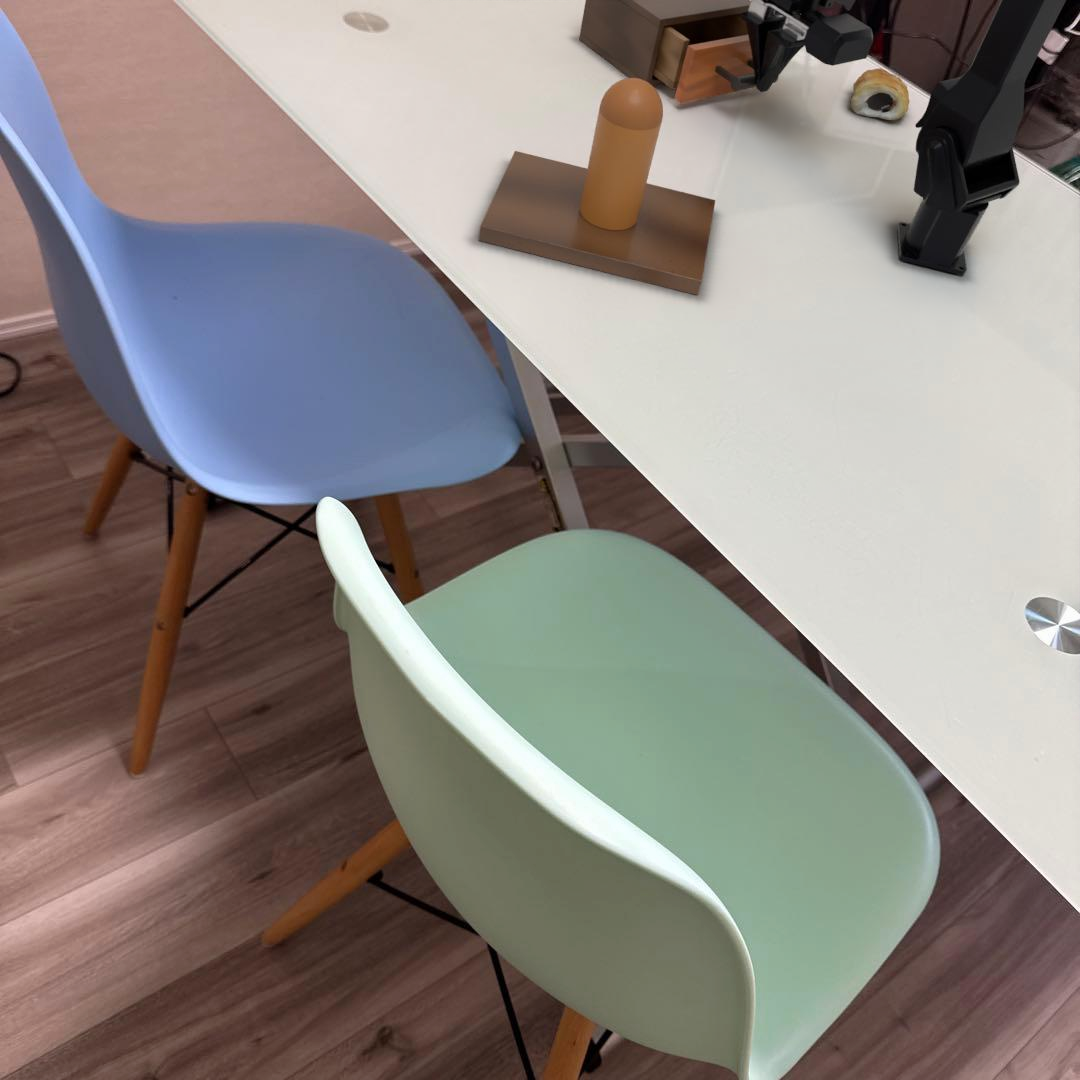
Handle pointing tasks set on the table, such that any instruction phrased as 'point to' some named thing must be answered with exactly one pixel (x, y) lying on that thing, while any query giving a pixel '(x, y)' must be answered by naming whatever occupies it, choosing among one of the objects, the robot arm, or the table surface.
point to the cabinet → (643, 28)
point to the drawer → (706, 58)
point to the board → (563, 234)
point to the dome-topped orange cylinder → (621, 154)
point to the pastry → (880, 95)
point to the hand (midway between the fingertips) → (761, 90)
